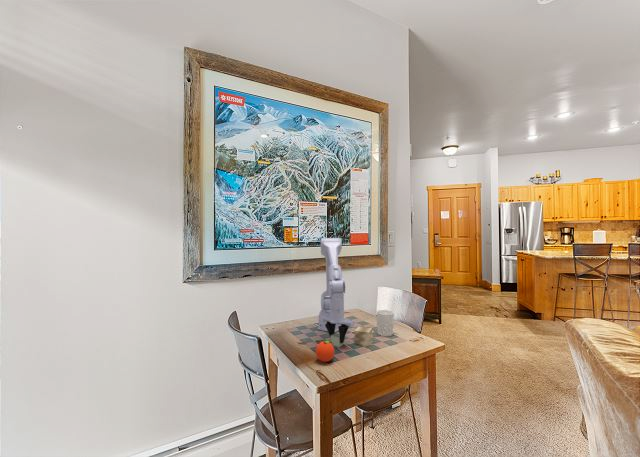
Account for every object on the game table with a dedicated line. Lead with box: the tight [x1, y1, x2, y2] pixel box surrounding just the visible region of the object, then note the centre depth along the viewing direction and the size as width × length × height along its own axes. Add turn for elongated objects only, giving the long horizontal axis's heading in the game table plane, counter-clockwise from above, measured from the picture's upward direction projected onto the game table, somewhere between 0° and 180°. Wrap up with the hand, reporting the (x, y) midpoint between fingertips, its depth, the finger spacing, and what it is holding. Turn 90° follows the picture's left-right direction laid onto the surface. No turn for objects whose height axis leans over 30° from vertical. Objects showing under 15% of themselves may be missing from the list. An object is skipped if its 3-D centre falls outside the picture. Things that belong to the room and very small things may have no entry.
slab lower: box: [353, 335, 374, 347], centre depth 125 cm, size 6×6×3 cm
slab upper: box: [354, 326, 373, 340], centre depth 125 cm, size 6×6×3 cm
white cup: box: [375, 309, 395, 337], centre depth 135 cm, size 8×8×10 cm
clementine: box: [315, 340, 335, 363], centre depth 108 cm, size 8×7×7 cm
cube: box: [330, 332, 345, 348], centre depth 123 cm, size 4×4×4 cm
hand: (337, 341), depth 123 cm, fingers closed on cube, 4 cm apart
